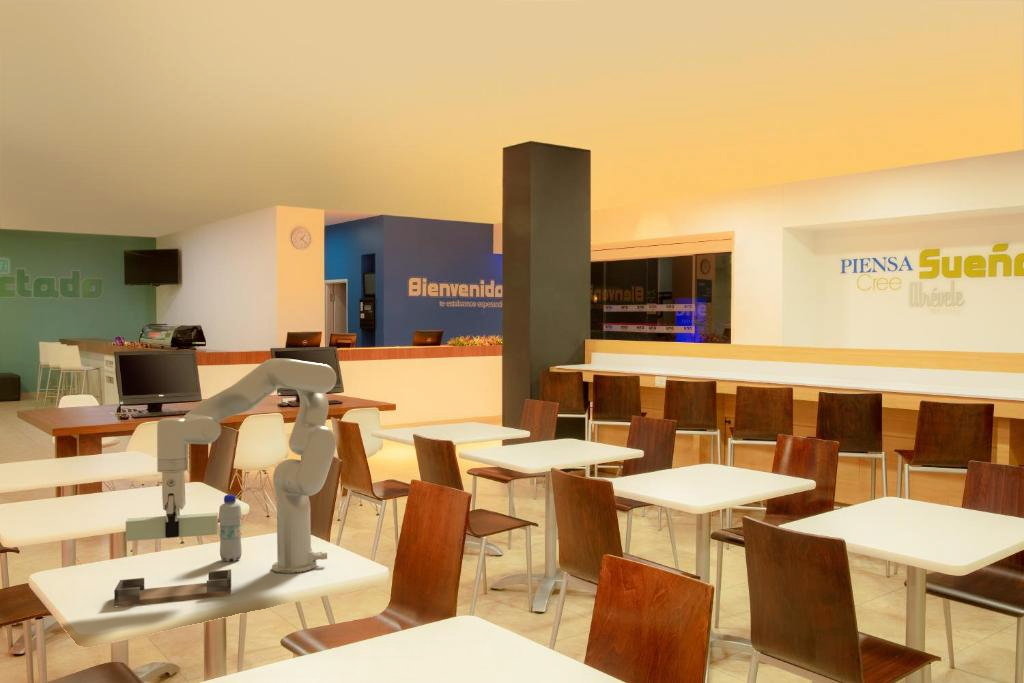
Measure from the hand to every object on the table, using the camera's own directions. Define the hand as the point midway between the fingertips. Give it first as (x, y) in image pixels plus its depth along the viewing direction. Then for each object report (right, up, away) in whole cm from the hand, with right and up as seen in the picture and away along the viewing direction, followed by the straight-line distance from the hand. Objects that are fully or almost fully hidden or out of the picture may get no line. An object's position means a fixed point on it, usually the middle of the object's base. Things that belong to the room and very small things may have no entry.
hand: (173, 534), depth 214 cm
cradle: (0, -16, 0) cm, 16 cm away
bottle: (+3, -16, +35) cm, 38 cm away
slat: (0, 0, 0) cm, 0 cm away
